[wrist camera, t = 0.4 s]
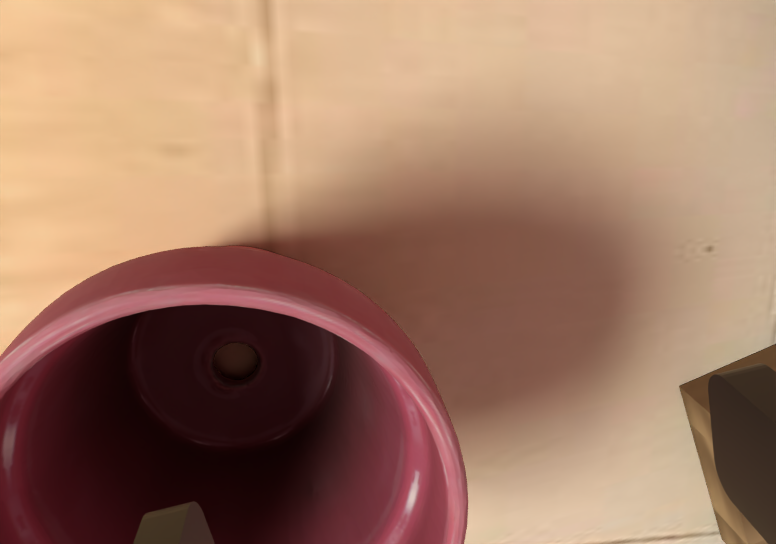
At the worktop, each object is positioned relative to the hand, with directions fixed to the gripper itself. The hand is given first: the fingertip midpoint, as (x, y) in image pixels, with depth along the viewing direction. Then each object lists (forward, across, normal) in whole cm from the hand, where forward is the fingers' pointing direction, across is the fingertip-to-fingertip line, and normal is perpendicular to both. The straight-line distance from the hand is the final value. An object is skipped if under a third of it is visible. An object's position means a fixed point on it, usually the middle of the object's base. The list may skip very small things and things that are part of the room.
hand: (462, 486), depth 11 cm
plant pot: (+20, +7, +5) cm, 22 cm away
